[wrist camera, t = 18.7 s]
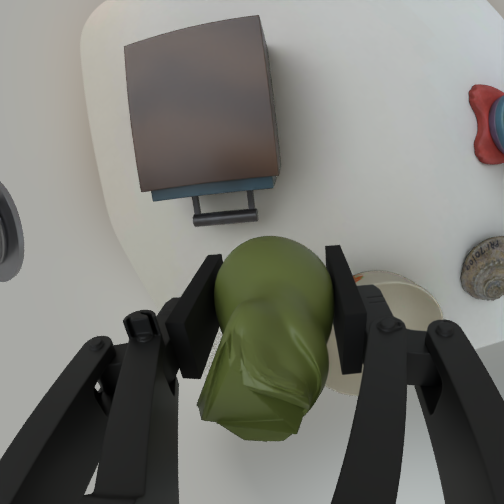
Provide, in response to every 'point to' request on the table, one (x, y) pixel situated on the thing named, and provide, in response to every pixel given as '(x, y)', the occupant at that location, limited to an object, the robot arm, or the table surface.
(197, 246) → the table surface
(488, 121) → the stacking bear
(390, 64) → the table surface
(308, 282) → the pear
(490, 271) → the fossilized seashell
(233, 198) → the table surface
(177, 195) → the drawer
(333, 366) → the bowl
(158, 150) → the cabinet
